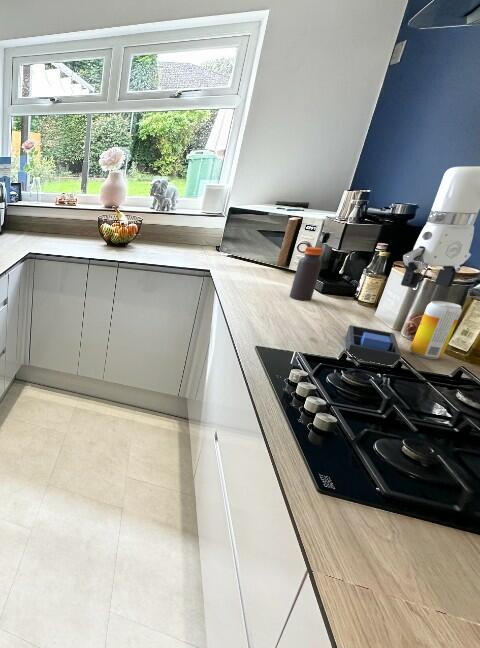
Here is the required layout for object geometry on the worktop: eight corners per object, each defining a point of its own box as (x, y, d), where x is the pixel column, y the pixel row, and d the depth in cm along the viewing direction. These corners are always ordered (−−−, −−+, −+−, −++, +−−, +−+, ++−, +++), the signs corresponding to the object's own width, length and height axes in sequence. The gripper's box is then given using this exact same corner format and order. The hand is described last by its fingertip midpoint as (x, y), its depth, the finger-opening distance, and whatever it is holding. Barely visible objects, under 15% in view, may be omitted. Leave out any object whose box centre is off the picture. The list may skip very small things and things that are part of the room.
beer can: (431, 351, 112) (452, 301, 107) (447, 361, 107) (470, 309, 102) (403, 348, 114) (423, 299, 109) (417, 358, 108) (439, 306, 103)
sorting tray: (389, 345, 116) (394, 333, 115) (395, 368, 103) (400, 354, 102) (345, 336, 122) (349, 324, 121) (346, 357, 109) (350, 344, 108)
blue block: (382, 353, 110) (389, 336, 108) (384, 359, 106) (390, 342, 104) (358, 348, 113) (363, 331, 111) (358, 354, 109) (364, 337, 108)
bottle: (285, 296, 159) (298, 247, 152) (297, 294, 161) (311, 246, 154) (302, 301, 153) (317, 250, 146) (315, 300, 155) (330, 249, 148)
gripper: (437, 222, 93) (411, 291, 99) (503, 220, 95) (474, 289, 100) (401, 218, 101) (379, 283, 106) (463, 216, 102) (438, 281, 107)
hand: (425, 286), depth 103 cm, fingers open, 9 cm apart
